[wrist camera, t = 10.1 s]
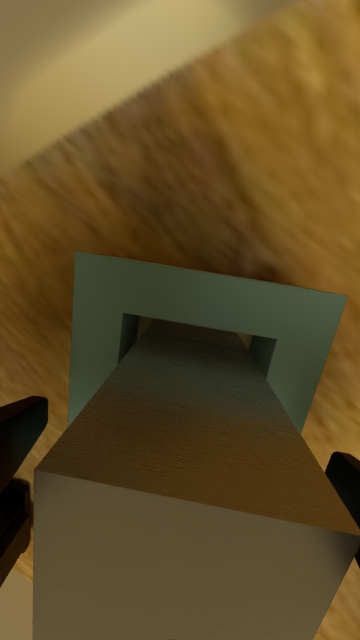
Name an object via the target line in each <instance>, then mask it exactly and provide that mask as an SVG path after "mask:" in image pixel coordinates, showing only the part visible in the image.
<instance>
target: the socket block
mask: <svg viewBox="0 0 360 640" xmlns="http://www.w3.org/2000/svg"><path fill="white" fill-rule="evenodd" d="M347 297H348V296H346V295H340V294H335V293H330V292H325V291H319V290H314V289H309V288H304V287H298V286H292V285H286V284H280V283H274V282H268V281H262V280H256V279H250V278H243V277H237V276H231V275H225V274H219V273H213V272H207V271H201V270H194V269H188V268H182V267H176V266H170V265H164V264H158V263H152V262H146V261H139V260H133V259H127V258H121V257H115V256H108V255H100V254H92V253H84V252H77V251H75V264H74V288H73V312H72V335H71V359H70V383H69V407H68V427H69V425H70V424H71V423H72V422H73V420H74V419H75V418H76V417H77V415H78V414H79V413H80V412H81V410H82V409H83V408H84V407H85V405H86V404H87V403H88V402H89V400H90V399H91V398H92V397H93V395H94V394H95V393H96V392H97V390H98V389H99V388H100V387H101V385H102V384H103V383H104V382H105V380H106V379H107V378H108V377H109V375H110V374H111V373H112V372H113V370H114V369H115V368H116V367H117V365H118V364H119V363H120V362H121V360H122V359H123V358H124V357H125V355H126V354H127V353H128V352H129V350H130V349H131V348H132V347H133V345H134V344H135V343H136V342H137V340H138V339H139V338H140V337H141V335H142V334H143V333H144V332H145V330H146V329H147V328H148V327H149V325H150V324H151V323H152V322H153V320H154V319H159V320H165V321H170V322H176V323H181V324H187V325H193V326H198V327H204V328H209V329H215V330H221V331H226V332H232V333H237V334H238V335H239V337H240V338H241V340H242V341H243V343H244V345H245V346H246V348H247V349H248V351H249V353H250V354H251V356H252V357H253V359H254V361H255V362H256V364H257V365H258V367H259V369H260V370H261V372H262V373H263V375H264V377H265V378H266V380H267V381H268V383H269V385H270V386H271V388H272V389H273V391H274V393H275V394H276V396H277V398H278V399H279V401H280V402H281V404H282V406H283V407H284V409H285V410H286V412H287V414H288V415H289V417H290V418H291V420H292V422H293V423H294V425H295V426H296V428H297V430H298V431H299V433H300V434H301V432H302V429H303V426H304V423H305V420H306V417H307V414H308V411H309V408H310V406H311V403H312V400H313V397H314V394H315V391H316V388H317V385H318V382H319V379H320V376H321V373H322V370H323V368H324V365H325V362H326V359H327V356H328V353H329V350H330V347H331V344H332V341H333V338H334V335H335V333H336V330H337V327H338V324H339V321H340V318H341V315H342V312H343V309H344V306H345V303H346V300H347Z"/></svg>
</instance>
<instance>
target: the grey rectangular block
mask: <svg viewBox="0 0 360 640" xmlns="http://www.w3.org/2000/svg"><path fill="white" fill-rule="evenodd" d="M359 546H360V529H359V527H358V526H357V524H356V523H355V521H354V519H353V518H352V516H351V515H350V513H349V511H348V510H347V508H346V506H345V505H344V503H343V502H342V500H341V498H340V497H339V495H338V494H337V492H336V490H335V489H334V487H333V486H332V484H331V482H330V481H329V479H328V478H327V476H326V474H325V473H324V471H323V470H322V468H321V466H320V465H319V463H318V462H317V460H316V458H315V457H314V455H313V454H312V452H311V450H310V449H309V447H308V446H307V444H306V442H305V441H304V439H303V438H302V436H301V434H300V433H299V431H298V430H297V428H296V426H295V425H294V423H293V422H292V420H291V418H290V417H289V415H288V414H287V412H286V410H285V409H284V407H283V406H282V404H281V402H280V401H279V399H278V398H277V396H276V394H275V393H274V391H273V389H272V388H271V386H270V385H269V383H268V381H267V380H266V378H265V377H264V375H263V373H262V372H261V370H260V369H259V367H258V365H257V364H256V362H255V361H254V359H253V357H252V356H251V354H250V353H249V351H248V349H247V348H246V346H245V345H244V343H243V341H242V340H241V338H240V337H239V335H238V334H237V333H232V332H226V331H221V330H215V329H209V328H204V327H198V326H193V325H187V324H181V323H176V322H170V321H165V320H159V319H154V320H153V322H152V323H151V324H150V325H149V327H148V328H147V329H146V330H145V332H144V333H143V334H142V335H141V337H140V338H139V339H138V340H137V342H136V343H135V344H134V345H133V347H132V348H131V349H130V350H129V352H128V353H127V354H126V355H125V357H124V358H123V359H122V360H121V362H120V363H119V364H118V365H117V367H116V368H115V369H114V370H113V372H112V373H111V374H110V375H109V377H108V378H107V379H106V380H105V382H104V383H103V384H102V385H101V387H100V388H99V389H98V390H97V392H96V393H95V394H94V395H93V397H92V398H91V399H90V400H89V402H88V403H87V404H86V405H85V407H84V408H83V409H82V410H81V412H80V413H79V414H78V415H77V417H76V418H75V419H74V420H73V422H72V423H71V424H70V425H69V427H68V428H67V429H66V430H65V432H64V433H63V434H62V435H61V437H60V438H59V439H58V440H57V442H56V443H55V444H54V445H53V447H52V448H51V449H50V451H49V452H48V453H47V454H46V456H45V457H44V458H43V459H42V461H41V462H40V463H39V464H38V466H37V467H36V468H35V469H34V544H33V640H313V638H314V636H315V634H316V632H317V630H318V628H319V626H320V624H321V622H322V620H323V618H324V616H325V614H326V612H327V610H328V608H329V606H330V604H331V602H332V600H333V598H334V596H335V594H336V592H337V590H338V588H339V586H340V584H341V582H342V580H343V578H344V576H345V574H346V572H347V570H348V568H349V566H350V564H351V562H352V560H353V558H354V556H355V554H356V552H357V550H358V548H359Z"/></svg>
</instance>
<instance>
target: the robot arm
mask: <svg viewBox="0 0 360 640" xmlns="http://www.w3.org/2000/svg"><path fill="white" fill-rule="evenodd" d="M47 422H48V399H47V398H46V397H41V396H30V397H28V398H25V399H22V400H19V401H16V402H13V403H10V404H7V405H4V406H2V407H0V587H1V585H2V584H3V582H4V580H5V579H6V577H7V576H8V574H9V572H10V571H11V569H12V567H13V566H14V564H15V562H16V561H17V559H18V558H19V556H20V554H21V553H24V552H25V551H26V549H27V548H28V546H29V488H28V486H27V485H26V484H24V483H21V482H16V481H11V478H12V477H13V476H14V474H15V473H16V471H17V470H18V468H19V467H20V465H21V464H22V462H23V461H24V459H25V458H26V456H27V455H28V453H29V452H30V450H31V449H32V447H33V446H34V444H35V443H36V441H37V439H38V438H39V436H40V435H41V433H42V432H43V430H44V429H45V427H46V425H47ZM325 474H326V476H327V478H328V479H329V481H330V482H331V484H332V486H333V487H334V489H335V490H336V492H337V494H338V495H339V497H340V498H341V500H342V502H343V503H344V505H345V506H346V508H347V510H348V511H349V513H350V515H351V516H352V518H353V519H354V521H355V523H356V524H357V526H358V527H359V529H360V461H359V460H358V459H356V458H355V457H354V456H352V455H350V454H348V453H343V452H338V451H336V452H334V453H332V455H331V458H330V460H329V463H328V465H327V468H326V470H325ZM354 557H355V559H356V561H357V564H358V566H359V568H360V546H359V548H358V550H357V552H356V554H355V556H354Z"/></svg>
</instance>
